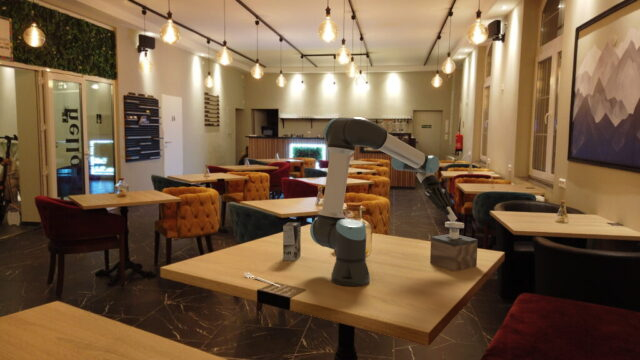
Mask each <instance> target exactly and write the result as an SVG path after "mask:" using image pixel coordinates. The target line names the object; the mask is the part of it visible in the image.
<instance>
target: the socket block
mask: <svg viewBox="0 0 640 360" xmlns="http://www.w3.org/2000/svg"><path fill="white" fill-rule="evenodd" d="M449 235H450V233H448V234H441V235H440V234H439V235H435V236H434V235H433V236H431V237H430V255H429V257H430V259H429V263H430V264H433V265H435V266H439V267H441V268H443V269H447V270H450V271H453V272H457V271H460V270H466V269H470V268H475V267H477V263H478V262H477V261H478V244H479V243H478V241H479V240H478V239H477V238H474V237H473V238H472V237H469V236H464V235H460V234H459V239H458V240H452V239H449Z"/></svg>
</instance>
